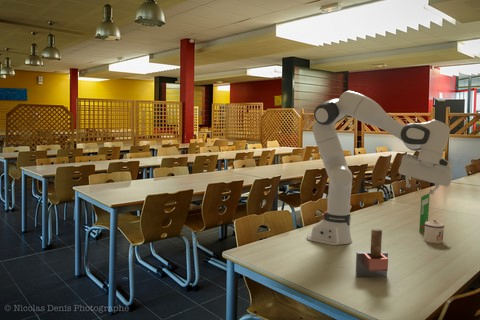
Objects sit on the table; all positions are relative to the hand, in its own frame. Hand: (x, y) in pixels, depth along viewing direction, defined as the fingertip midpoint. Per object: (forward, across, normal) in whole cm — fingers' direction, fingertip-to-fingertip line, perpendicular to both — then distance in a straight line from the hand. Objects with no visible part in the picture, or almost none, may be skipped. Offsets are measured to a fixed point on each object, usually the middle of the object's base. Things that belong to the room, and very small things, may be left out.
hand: (419, 190), depth 164 cm
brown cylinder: (+33, -4, -19) cm, 38 cm away
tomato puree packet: (+18, -3, +68) cm, 71 cm away
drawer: (+38, -2, -18) cm, 42 cm away
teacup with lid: (+21, +6, +50) cm, 54 cm away
